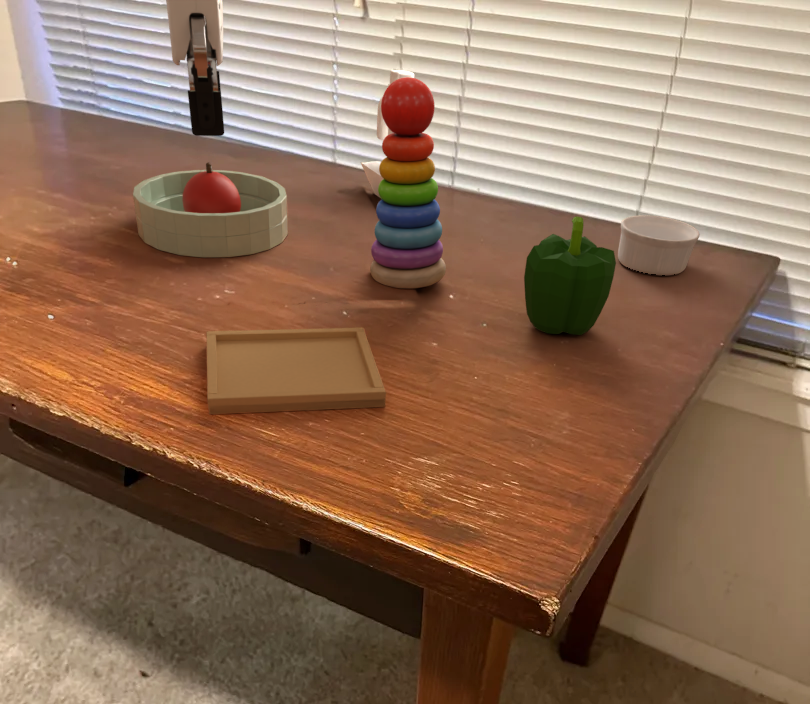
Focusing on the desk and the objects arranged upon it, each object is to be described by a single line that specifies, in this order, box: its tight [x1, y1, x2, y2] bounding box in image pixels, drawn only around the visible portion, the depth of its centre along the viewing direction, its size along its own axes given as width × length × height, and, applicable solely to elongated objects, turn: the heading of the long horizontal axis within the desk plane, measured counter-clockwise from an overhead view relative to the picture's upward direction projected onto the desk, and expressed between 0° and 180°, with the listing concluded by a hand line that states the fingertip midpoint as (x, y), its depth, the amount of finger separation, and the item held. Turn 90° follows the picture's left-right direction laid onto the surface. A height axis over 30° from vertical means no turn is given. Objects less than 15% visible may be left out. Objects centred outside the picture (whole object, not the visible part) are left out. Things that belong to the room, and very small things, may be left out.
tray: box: [205, 327, 387, 415], centre depth 69 cm, size 14×12×1 cm
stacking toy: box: [369, 77, 447, 290], centre depth 81 cm, size 8×8×19 cm
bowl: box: [132, 169, 289, 258], centre depth 92 cm, size 17×17×5 cm
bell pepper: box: [523, 216, 617, 336], centre depth 77 cm, size 8×8×10 cm
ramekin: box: [617, 214, 701, 276], centre depth 94 cm, size 9×9×4 cm
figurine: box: [360, 68, 415, 199], centre depth 105 cm, size 7×9×15 cm
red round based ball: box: [182, 161, 241, 213], centre depth 91 cm, size 6×6×7 cm
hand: (208, 123), depth 86 cm, fingers open, 9 cm apart
